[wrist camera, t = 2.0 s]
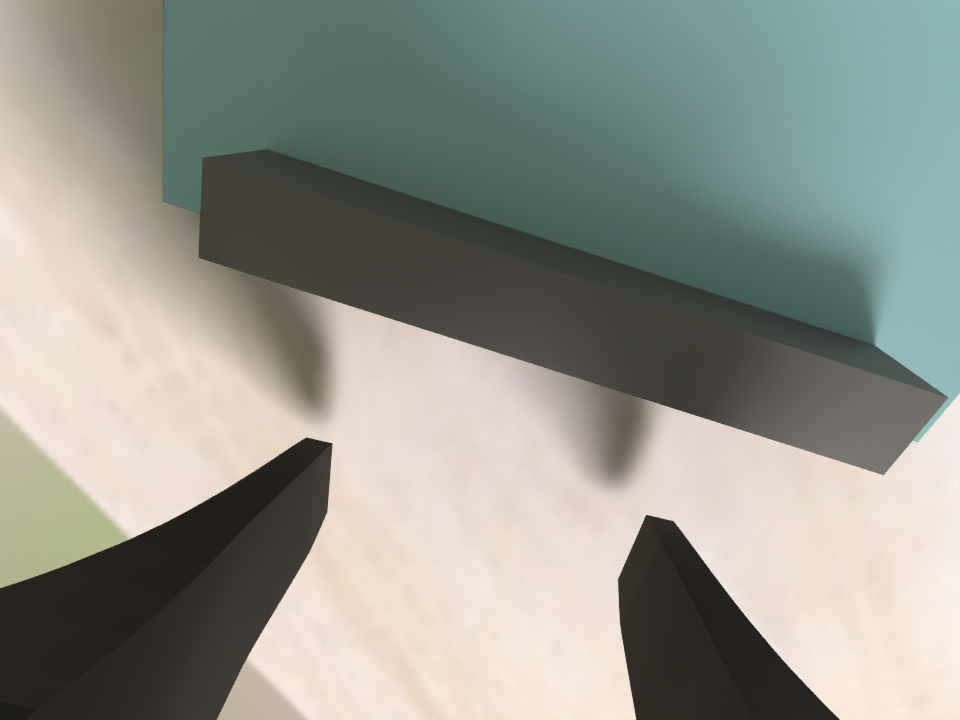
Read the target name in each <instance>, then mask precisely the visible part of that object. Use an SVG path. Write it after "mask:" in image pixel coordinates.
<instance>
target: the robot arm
mask: <svg viewBox="0 0 960 720" xmlns="http://www.w3.org/2000/svg"><path fill="white" fill-rule="evenodd" d="M331 456H332V443H328V442H324V441H319V440H315V439H311V438H305V439H303V440H301V441H300V442H298V443H297V444H295V445H294V446H292V447H291V448H289V449H288V450H286V451H285V452H283V453H282V454H280V455H279V456H277V457H276V458H274V459H273V460H271V461H270V462H268V463H266V464H265V465H263V466H262V467H260V468H259V469H257V470H256V471H254V472H253V473H251V474H249V475H248V476H246V477H245V478H243V479H241V480H240V481H238V482H237V483H235V484H233V485H232V486H230V487H229V488H227V489H225V490H224V491H222V492H220V493H219V494H217V495H215V496H213V497H211V498H210V499H208V500H206V501H204V502H203V503H201V504H199V505H197V506H196V507H194V508H192V509H190V510H189V511H187V512H185V513H183V514H181V515H179V516H177V517H175V518H174V519H172V520H170V521H168V522H166V523H164V524H162V525H160V526H157V527H155V528H153V529H151V530H149V531H147V532H145V533H143V534H140V535H138V536H136V537H134V538H132V539H130V540H127V541H125V542H123V543H120V544H118V545H115V546H113V547H111V548H108V549H106V550H103V551H101V552H98V553H96V554H93V555H91V556H89V557H86V558H83V559H81V560H79V561H76V562H74V563H71V564H69V565H66V566H63V567H61V568H58V569H55V570H53V571H50V572H47V573H45V574H41V575H39V576H36V577H33V578H30V579H27V580H24V581H22V582H18V583H15V584H12V585H9V586H6V587H3V588H0V720H217V718H218V715H219V714H220V712H221V709H222V707H223V706H224V703H225V701H226V699H227V697H228V695H229V693H230V691H231V689H232V686H233V685H234V683H235V680H236V679H237V676H238V674H239V672H240V670H241V668H242V666H243V664H244V663H245V661H246V659H247V657H248V655H249V653H250V652H251V650H252V648H253V646H254V644H255V643H256V641H257V639H258V638H259V636H260V634H261V633H262V631H263V629H264V628H265V626H266V624H267V623H268V621H269V619H270V618H271V616H272V614H273V613H274V611H275V609H276V608H277V606H278V604H279V603H280V601H281V599H282V598H283V596H284V594H285V593H286V591H287V589H288V588H289V586H290V584H291V583H292V581H293V579H294V578H295V576H296V574H297V572H298V571H299V569H300V567H301V566H302V564H303V562H304V561H305V559H306V557H307V555H308V554H309V552H310V550H311V548H312V545H313V543H314V541H315V539H316V537H317V534H318V532H319V530H320V528H321V525H322V523H323V521H324V518H325V516H326V514H327V509H328V495H329V482H330V469H331ZM618 589H619V612H620V626H621V633H622V639H623V645H624V651H625V657H626V663H627V668H628V674H629V680H630V686H631V691H632V697H633V703H634V708H635V714H636V720H840V719H839V718H838V717H837V716H835V715H834V714H833V713H832V712H831V711H830V710H829V709H828V708H827V707H826V706H825V705H824V704H823V702H822V701H821V700H820V699H819V698H818V697H817V696H816V695H815V694H814V693H813V692H812V691H811V690H810V689H809V688H808V687H807V686H806V685H805V684H804V682H803V681H802V680H801V679H800V678H799V677H798V676H797V675H796V674H795V673H794V672H793V671H792V670H791V669H790V668H789V666H788V665H787V664H786V663H785V662H784V661H783V660H782V659H781V658H780V656H779V655H778V654H777V653H776V652H775V651H774V649H773V648H772V647H771V646H770V645H769V644H768V642H767V641H766V640H765V639H764V638H763V637H762V635H761V634H760V633H759V632H758V631H757V629H756V628H755V627H754V626H753V625H752V623H751V622H750V621H749V620H748V619H747V617H746V616H745V615H744V614H743V612H742V611H741V610H740V609H739V607H738V606H737V605H736V604H735V602H734V601H733V600H732V598H731V597H730V596H729V595H728V593H727V592H726V591H725V589H724V588H723V587H722V585H721V584H720V583H719V581H718V580H717V579H716V577H715V576H714V575H713V573H712V572H711V571H710V569H709V568H708V567H707V565H706V564H705V563H704V561H703V560H702V559H701V557H700V556H699V555H698V553H697V552H696V550H695V549H694V548H693V546H692V545H691V544H690V542H689V541H688V540H687V538H686V537H685V536H684V534H683V533H682V532H681V530H680V529H679V528H678V526H677V525H676V524H675V523H674V521H670V520H666V519H662V518H657V517H653V516H648V515H646V517H645V519H644V521H643V524H642V526H641V528H640V531H639V533H638V535H637V537H636V540H635V542H634V544H633V547H632V549H631V551H630V553H629V556H628V558H627V560H626V563H625V565H624V567H623V569H622V572H621V574H620V576H619V578H618Z"/></svg>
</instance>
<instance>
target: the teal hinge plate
mask: <svg viewBox="0 0 960 720" xmlns="http://www.w3.org/2000/svg"><path fill="white" fill-rule="evenodd" d="M163 202H166V203H170V204H173V205H176V206H179V207H182V208H185V209H188V210H191V211H195V212H198V213H200V236H199V258H201V259H204V260H208V261H211V262H214V263H217V264H220V265H223V266H226V267H230V268H233V269H236V270H239V271H242V272H245V273H249V274H252V275H255V276H258V277H261V278H264V279H267V280H271V281H274V282H277V283H280V284H283V285H286V286H289V287H293V288H296V289H299V290H302V291H305V292H308V293H312V294H315V295H318V296H321V297H324V298H327V299H330V300H334V301H337V302H340V303H343V304H346V305H349V306H353V307H356V308H359V309H362V310H365V311H368V312H371V313H375V314H378V315H381V316H384V317H387V318H390V319H393V320H397V321H400V322H403V323H406V324H409V325H412V326H416V327H419V328H422V329H425V330H428V331H431V332H434V333H438V334H441V335H444V336H447V337H450V338H453V339H457V340H460V341H463V342H466V343H469V344H472V345H475V346H479V347H482V348H485V349H488V350H491V351H494V352H497V353H501V354H504V355H507V356H510V357H513V358H516V359H520V360H523V361H526V362H529V363H532V364H535V365H538V366H542V367H545V368H548V369H551V370H554V371H557V372H561V373H564V374H567V375H570V376H573V377H576V378H579V379H583V380H586V381H589V382H592V383H595V384H598V385H601V386H605V387H608V388H611V389H614V390H617V391H620V392H624V393H627V394H630V395H633V396H636V397H639V398H642V399H646V400H649V401H652V402H655V403H658V404H661V405H664V406H668V407H671V408H674V409H677V410H680V411H683V412H687V413H690V414H693V415H696V416H699V417H702V418H705V419H709V420H712V421H715V422H718V423H721V424H724V425H728V426H731V427H734V428H737V429H740V430H743V431H746V432H750V433H753V434H756V435H759V436H762V437H765V438H768V439H772V440H775V441H778V442H781V443H784V444H787V445H791V446H794V447H797V448H800V449H803V450H806V451H809V452H813V453H816V454H819V455H822V456H825V457H828V458H832V459H835V460H838V461H841V462H844V463H847V464H850V465H854V466H857V467H860V468H863V469H866V470H869V471H872V472H876V473H879V474H882V475H884V474H885V473H886V472H887V470H888V469H889V468H890V467H891V466H892V464H893V463H894V462H895V461H896V460H897V458H898V457H899V456H900V455H901V454H902V453H903V451H904V450H905V449H906V448H907V447H908V445H909V444H910V443H911V442H912V441H915V442H919V440H920V439H921V438H922V437H923V436H924V435H925V433H926V432H927V431H928V430H929V429H930V427H931V426H932V425H933V424H934V423H935V422H936V420H937V419H938V418H939V417H940V416H941V414H942V413H943V412H944V411H945V410H946V409H947V407H948V406H949V405H950V404H951V403H952V401H953V400H954V399H955V398H956V397H957V396H958V394H959V393H960V0H163Z"/></svg>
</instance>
